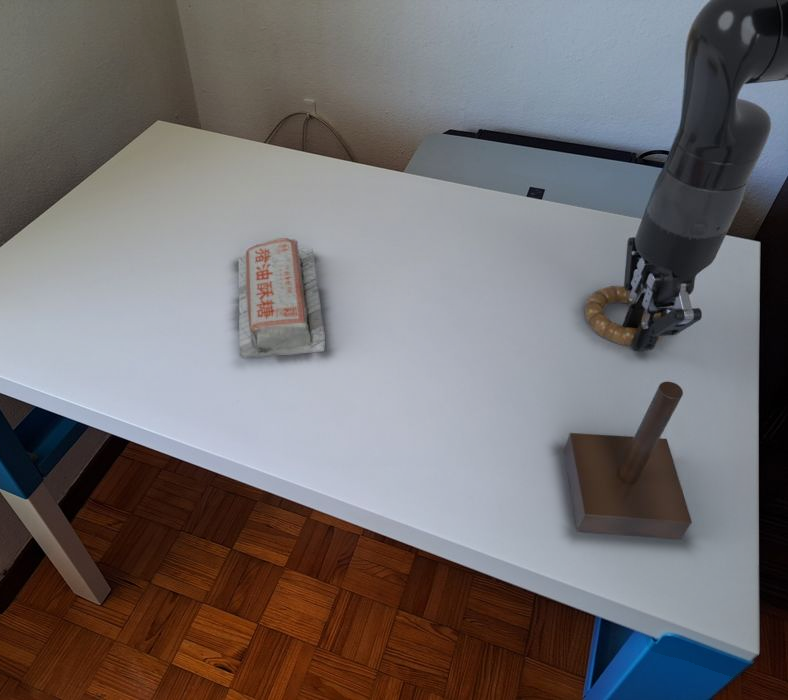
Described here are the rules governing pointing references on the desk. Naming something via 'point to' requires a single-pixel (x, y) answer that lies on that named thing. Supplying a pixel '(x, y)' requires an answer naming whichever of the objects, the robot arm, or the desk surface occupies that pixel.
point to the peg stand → (629, 477)
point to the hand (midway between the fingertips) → (636, 338)
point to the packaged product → (279, 301)
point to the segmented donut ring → (602, 322)
